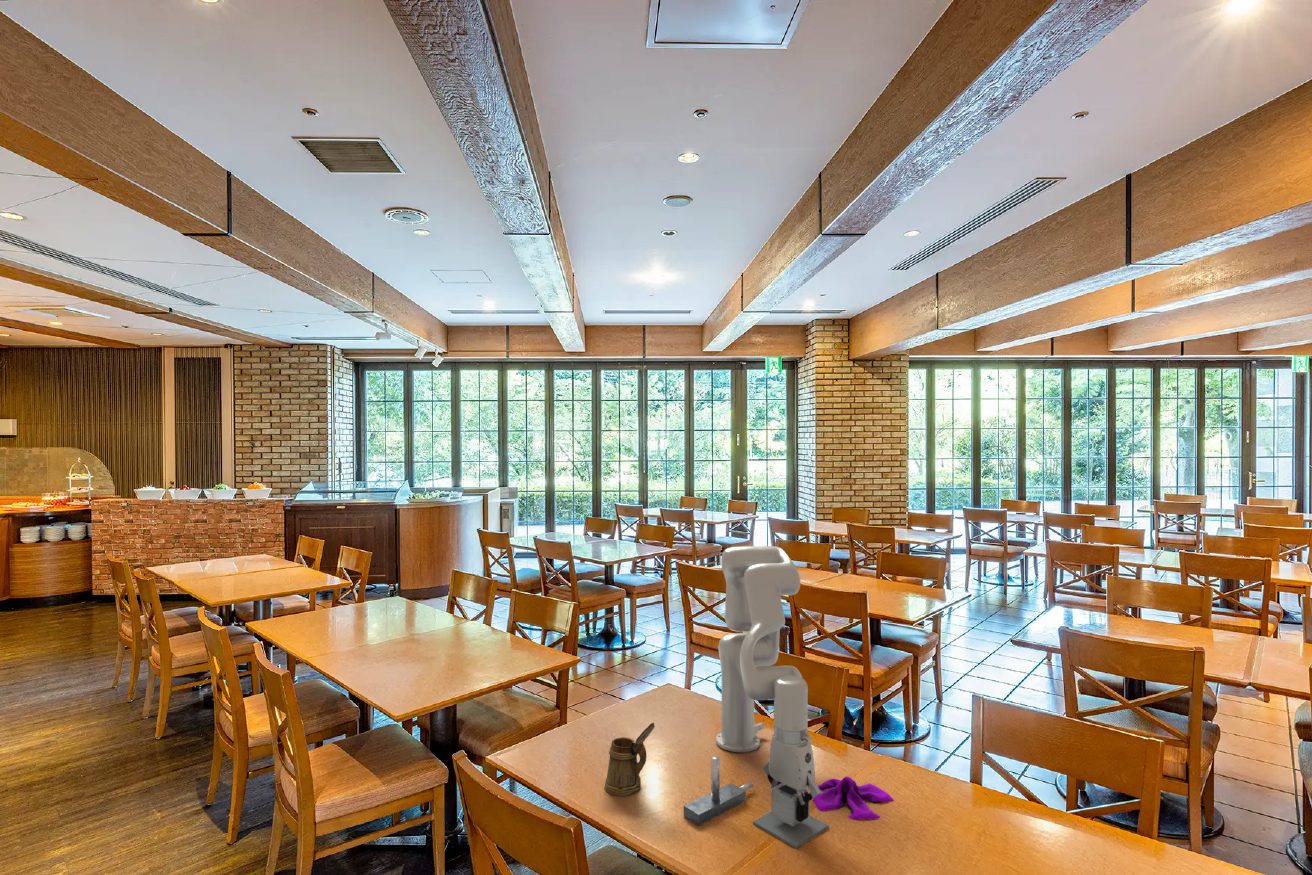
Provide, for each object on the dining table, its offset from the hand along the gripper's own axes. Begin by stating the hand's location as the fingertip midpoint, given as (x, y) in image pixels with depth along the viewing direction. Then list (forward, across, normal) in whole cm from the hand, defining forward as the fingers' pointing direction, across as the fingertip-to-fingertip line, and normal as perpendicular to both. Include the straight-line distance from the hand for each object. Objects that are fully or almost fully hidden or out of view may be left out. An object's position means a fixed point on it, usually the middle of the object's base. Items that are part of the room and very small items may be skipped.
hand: (790, 812), depth 147 cm
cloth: (+4, -1, -20) cm, 20 cm away
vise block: (+3, +16, +5) cm, 17 cm away
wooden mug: (+3, +36, +18) cm, 40 cm away
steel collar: (+1, 0, 0) cm, 1 cm away
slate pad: (+3, 0, 0) cm, 3 cm away
